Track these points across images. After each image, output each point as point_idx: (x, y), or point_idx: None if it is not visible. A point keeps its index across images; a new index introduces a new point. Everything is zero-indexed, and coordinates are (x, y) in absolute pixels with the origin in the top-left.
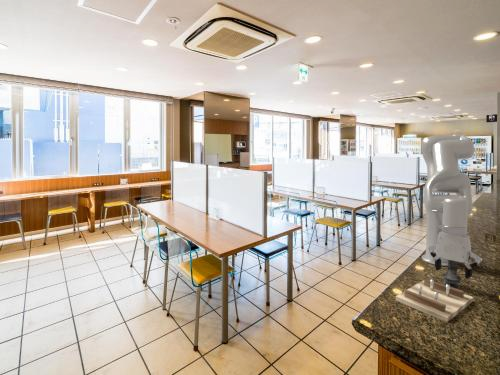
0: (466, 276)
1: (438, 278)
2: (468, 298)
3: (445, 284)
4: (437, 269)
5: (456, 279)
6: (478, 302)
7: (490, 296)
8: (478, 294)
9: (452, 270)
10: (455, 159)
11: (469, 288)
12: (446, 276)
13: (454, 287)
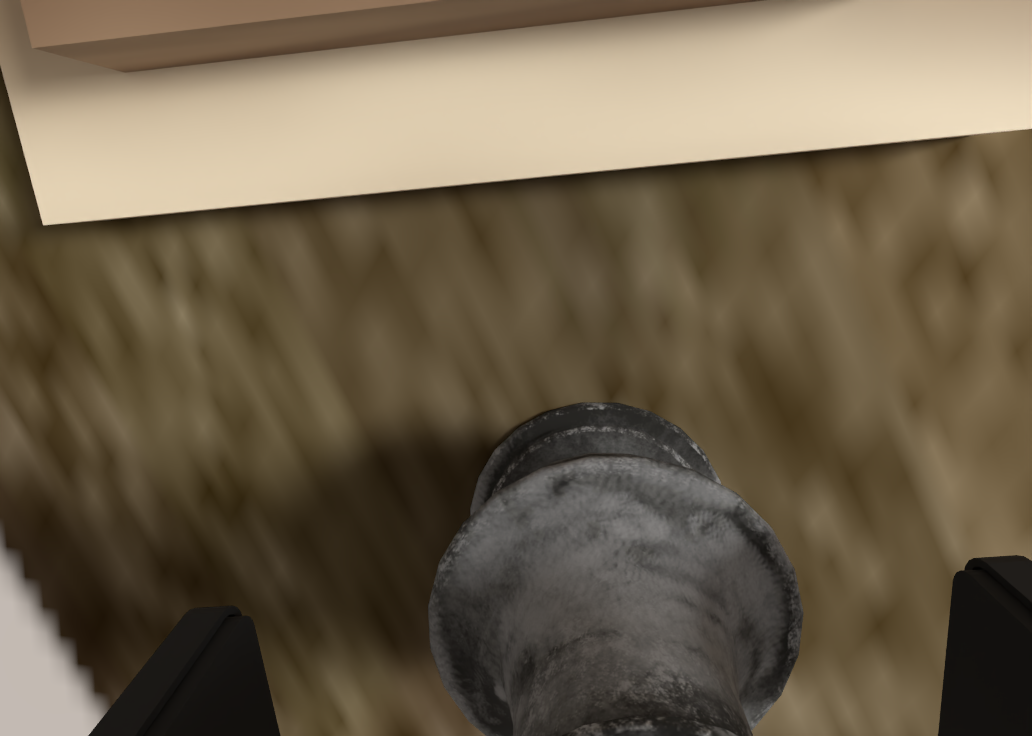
0: (177, 649)
1: (869, 621)
2: (39, 78)
3: (663, 445)
4: (985, 578)
5: (472, 556)
6: (42, 258)
7: (95, 612)
8: (207, 542)
9: (580, 711)
10: None
11: (385, 640)
12: (683, 525)
13: (512, 459)
